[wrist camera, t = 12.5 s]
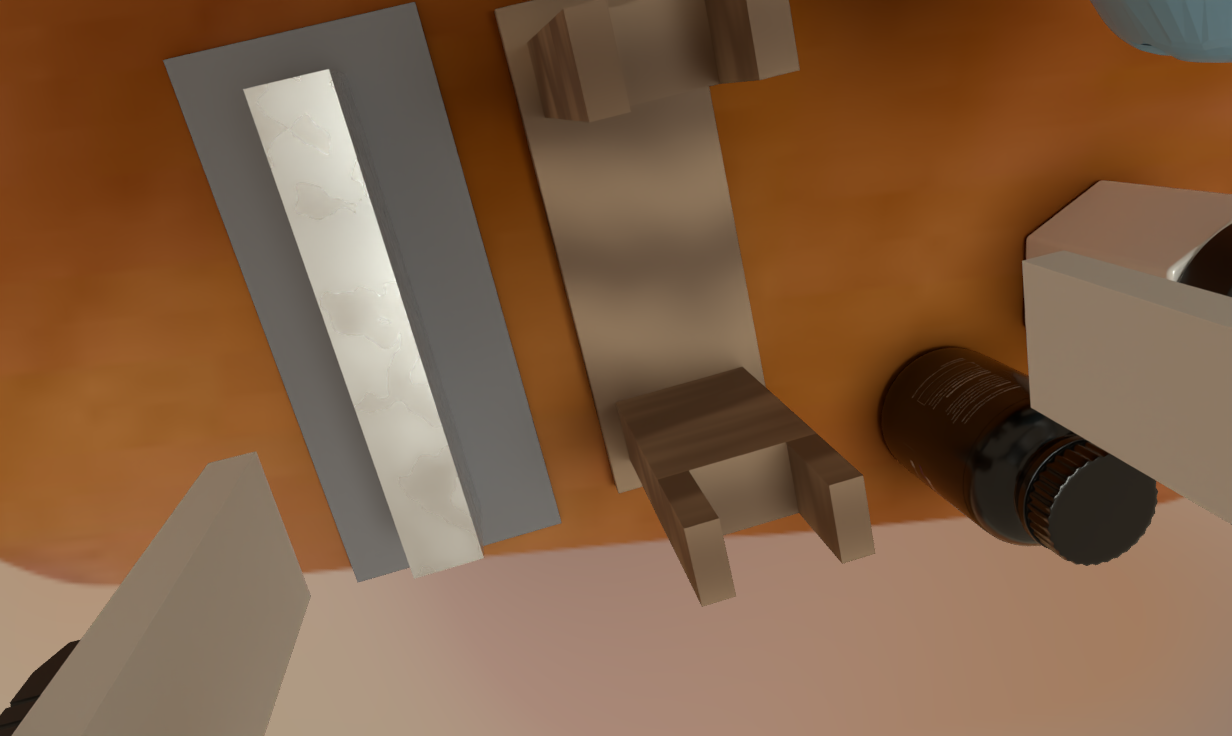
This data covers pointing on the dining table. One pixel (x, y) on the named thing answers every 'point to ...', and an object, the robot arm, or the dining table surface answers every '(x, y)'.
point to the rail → (370, 313)
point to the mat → (433, 255)
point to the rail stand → (670, 266)
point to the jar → (1147, 232)
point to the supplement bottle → (1012, 459)
